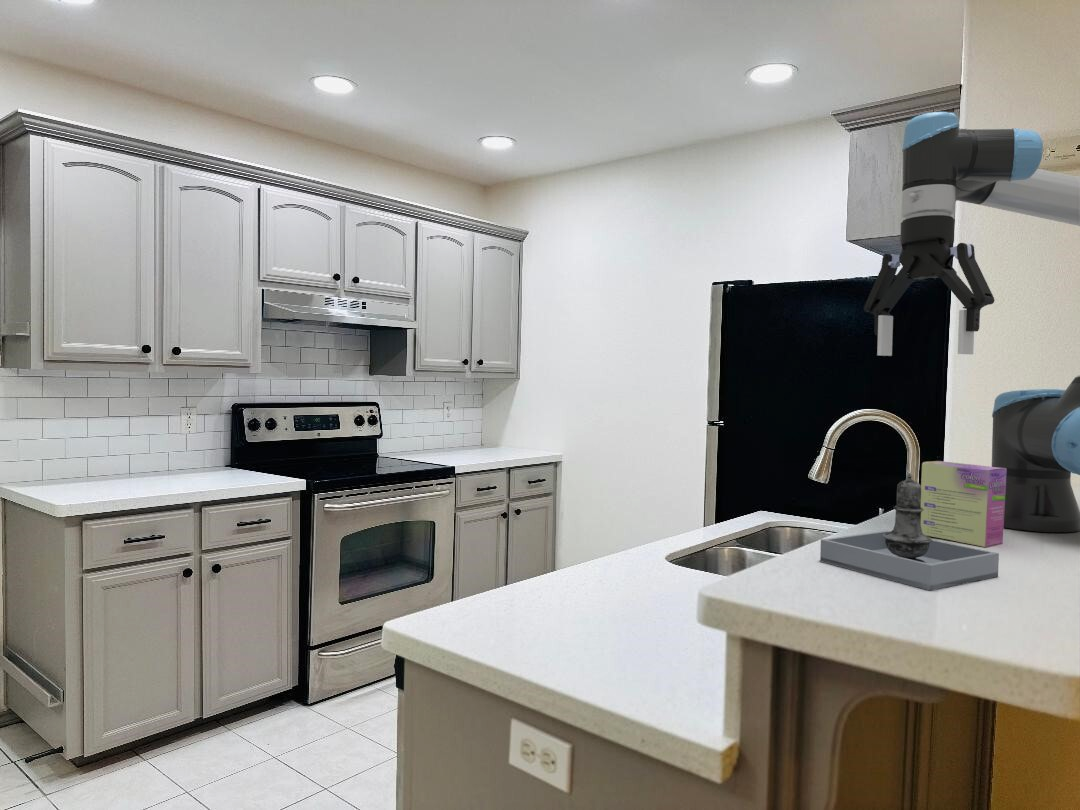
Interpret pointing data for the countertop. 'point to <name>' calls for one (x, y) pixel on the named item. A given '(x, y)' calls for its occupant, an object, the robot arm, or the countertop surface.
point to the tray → (910, 561)
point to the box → (963, 502)
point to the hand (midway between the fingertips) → (923, 355)
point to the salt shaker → (908, 523)
